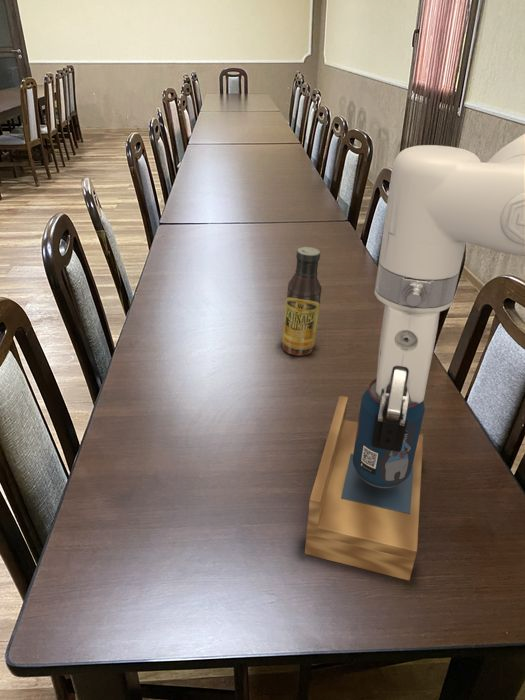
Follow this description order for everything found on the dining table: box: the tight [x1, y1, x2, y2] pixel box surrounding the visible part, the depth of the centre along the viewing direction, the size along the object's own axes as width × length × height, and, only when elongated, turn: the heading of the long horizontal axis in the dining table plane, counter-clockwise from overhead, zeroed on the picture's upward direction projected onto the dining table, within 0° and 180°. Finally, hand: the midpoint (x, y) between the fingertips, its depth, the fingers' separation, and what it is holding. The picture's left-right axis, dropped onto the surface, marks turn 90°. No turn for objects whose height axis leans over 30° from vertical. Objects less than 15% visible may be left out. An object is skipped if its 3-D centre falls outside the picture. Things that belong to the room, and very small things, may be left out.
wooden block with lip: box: [304, 395, 424, 581], centre depth 67 cm, size 12×20×9 cm, turn 164°
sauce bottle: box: [281, 246, 323, 357], centre depth 97 cm, size 7×6×20 cm
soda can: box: [353, 377, 426, 488], centre depth 62 cm, size 7×7×12 cm
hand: (389, 424), depth 61 cm, fingers closed on soda can, 7 cm apart
